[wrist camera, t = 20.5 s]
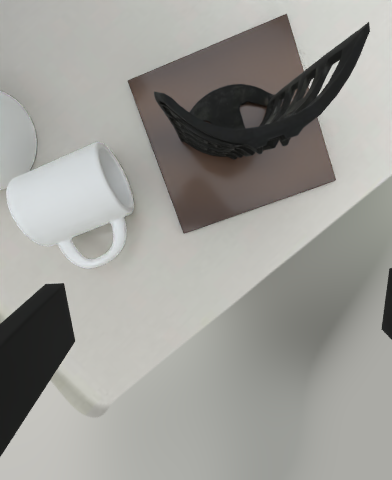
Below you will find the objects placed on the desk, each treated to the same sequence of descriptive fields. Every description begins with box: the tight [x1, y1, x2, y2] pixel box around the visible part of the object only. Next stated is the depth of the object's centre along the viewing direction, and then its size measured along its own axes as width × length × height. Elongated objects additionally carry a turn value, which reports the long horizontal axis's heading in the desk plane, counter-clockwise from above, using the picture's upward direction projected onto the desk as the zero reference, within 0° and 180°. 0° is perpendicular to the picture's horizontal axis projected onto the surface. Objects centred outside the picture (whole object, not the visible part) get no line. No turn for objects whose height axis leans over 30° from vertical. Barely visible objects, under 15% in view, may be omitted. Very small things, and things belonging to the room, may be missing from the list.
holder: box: [154, 22, 370, 160], centre depth 24 cm, size 11×8×20 cm
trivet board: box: [128, 14, 336, 233], centre depth 34 cm, size 18×18×1 cm
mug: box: [6, 142, 134, 268], centre depth 33 cm, size 12×10×8 cm
